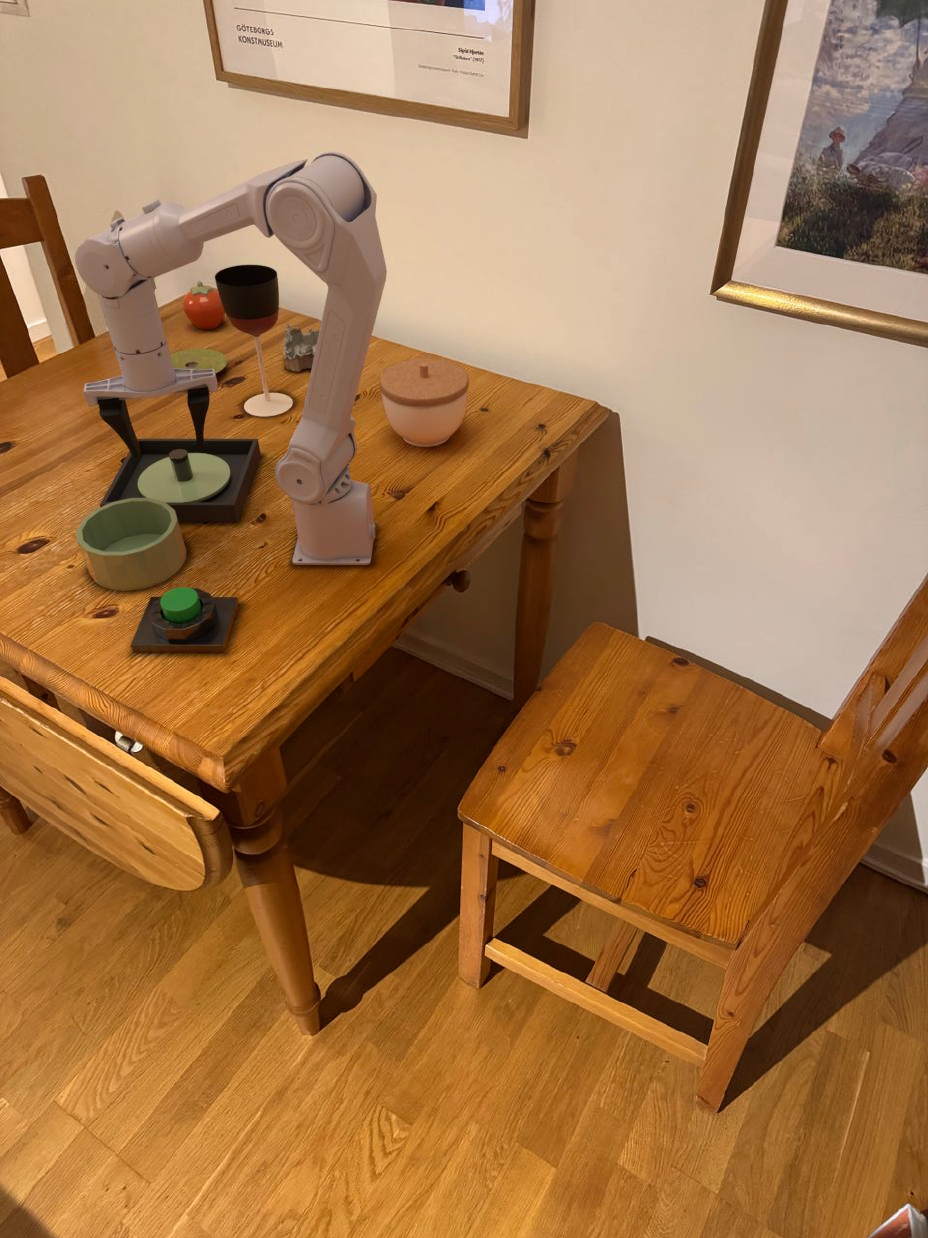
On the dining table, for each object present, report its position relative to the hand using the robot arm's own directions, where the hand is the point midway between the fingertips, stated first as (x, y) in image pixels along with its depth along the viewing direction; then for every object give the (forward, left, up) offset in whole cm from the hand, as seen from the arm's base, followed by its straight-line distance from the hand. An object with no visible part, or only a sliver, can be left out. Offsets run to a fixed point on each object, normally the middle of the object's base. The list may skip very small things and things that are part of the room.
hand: (169, 449), depth 105 cm
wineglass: (-5, -30, -11) cm, 32 cm away
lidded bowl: (-30, -21, -11) cm, 38 cm away
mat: (+9, -40, -11) cm, 43 cm away
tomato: (+11, -59, -11) cm, 61 cm away
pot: (+4, +9, -10) cm, 14 cm away
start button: (-5, +21, -8) cm, 23 cm away
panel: (-5, +21, -10) cm, 24 cm away
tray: (+2, -7, -10) cm, 13 cm away
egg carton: (-9, -46, -11) cm, 48 cm away
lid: (+2, -7, -9) cm, 12 cm away
